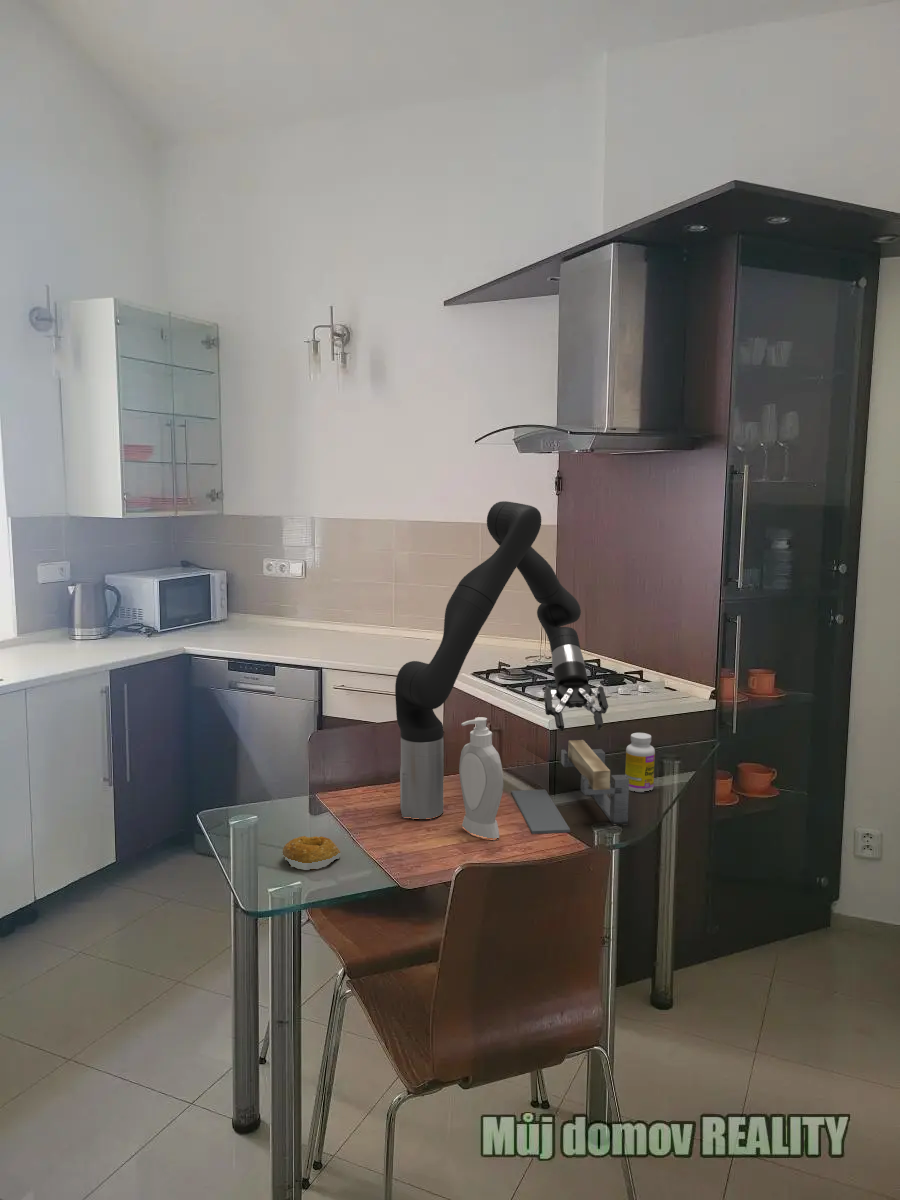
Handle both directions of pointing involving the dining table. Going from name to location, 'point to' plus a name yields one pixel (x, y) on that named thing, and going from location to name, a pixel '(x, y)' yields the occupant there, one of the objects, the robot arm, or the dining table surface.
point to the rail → (589, 764)
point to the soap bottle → (481, 781)
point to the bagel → (310, 849)
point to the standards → (606, 791)
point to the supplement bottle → (640, 763)
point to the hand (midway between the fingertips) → (580, 728)
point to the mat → (540, 812)
